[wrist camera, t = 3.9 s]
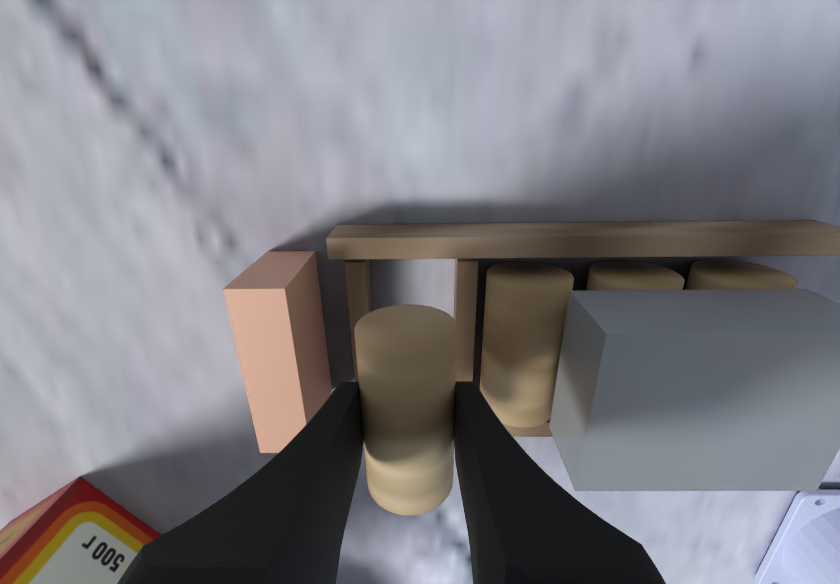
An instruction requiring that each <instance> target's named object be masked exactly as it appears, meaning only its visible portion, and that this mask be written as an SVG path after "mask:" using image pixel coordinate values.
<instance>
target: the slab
mask: <svg viewBox="0 0 840 584" xmlns="http://www.w3.org/2000/svg"><path fill="white" fill-rule="evenodd" d="M549 428H550V431H551V433H552V435H553V438H554V440H555V443H556V445H557V448H558V450H559V453H560V455H561V458H562V460H563V463H564V465H565V467H566V470H567V472H568V475H569V477H570V480H571V482H572V485H573V487H574V490H575V491H817V490H818V488H819V486H820V484H821V482H822V480H823V478H824V477H825V475H826V473H827V471H828V469H829V467H830V465H831V463H832V462H833V460H834V458H835V456H836V454H837V452H838V450H839V448H840V304H837V303H835V302H833V301H831V300H829V299H826V298H824V297H822V296H820V295H817V294H815V293H813V292H811V291H808V290H806V289H745V290H609V291H570V292H569V299H568V305H567V312H566V319H565V325H564V332H563V339H562V345H561V352H560V359H559V365H558V372H557V379H556V385H555V392H554V399H553V405H552V412H551V419H550V425H549Z"/></svg>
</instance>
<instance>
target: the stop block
mask: <svg viewBox="0 0 840 584" xmlns="http://www.w3.org/2000/svg"><path fill="white" fill-rule="evenodd" d="M223 291H224V295H225V300H226V304H227V308H228V313H229V317H230V322H231V326H232V331H233V335H234V340H235V344H236V348H237V353H238V357H239V362H240V366H241V371H242V375H243V379H244V384H245V388H246V393H247V397H248V402H249V406H250V410H251V415H252V419H253V424H254V428H255V433H256V437H257V441H258V446H259V450H260V453H279V452H280V451H281V450H282V449H283V448H284V447H285V446H286V445H287V444H288V443H289V442H290V441H291V440H292V439H293V438H294V437H295V436H296V435H297V434H298V433H299V432H300V431H301V430H302V429H303V428H304V426H305V425H306V424H307V423H308V422H309V421H310V419H311V418H312V417H313V416H314V415H315V414H316V412H317V411H318V410H319V409H320V408H321V406H322V405H323V404H324V403H325V401H326V400H327V399H328V398H329V396H330V394H331V391H332V384H331V376H330V368H329V359H328V351H327V343H326V335H325V326H324V318H323V310H322V301H321V293H320V285H319V277H318V268H317V260H316V252H315V251H267V252H266V253H265V254H264V255H263V256H261V257H260V258H259V259H258V260H257V261H256V262H254V263H253V264H252V265H251V266H250V267H249V268H247V269H246V270H245V271H244V272H243V273H242V274H240V275H239V276H238V277H237V278H236V279H234V280H233V281H232V282H231V283H230V284H229V285H227V286H226V287H225V288H224V289H223Z"/></svg>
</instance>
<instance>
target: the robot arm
mask: <svg viewBox="0 0 840 584" xmlns="http://www.w3.org/2000/svg"><path fill="white" fill-rule="evenodd" d="M363 441H364V436H363V424H362V413H361V401H360V390H359V382H341V383H340V384H339V385H338V386H337V387H336V389H335V390H334V391H333V392H332V394H331V395H330V396H329V398H328V399H327V400H326V401H325V403H324V404H323V405H322V406H321V408H320V409H319V410H318V411H317V412H316V414H315V415H314V416H313V417H312V418H311V419H310V421H309V422H308V423H307V424H306V425H305V426H304V428H303V429H302V430H301V431H300V432H299V433H298V434H297V435H296V436H295V437H294V438H293V439H292V440H291V441H290V442H289V443H288V444H287V445H286V446H285V447H284V448H283V449H282V450H281V451H280V452H279V453H278V454H277V455H276V456H275V457H274V458H273V459H272V460H271V461H269V462H268V463H267V464H266V465H265V466H264V467H263V468H261V469H260V470H259V471H258V472H257V473H255V474H254V475H253V476H252V477H250V478H249V479H248V480H246V481H245V482H244V483H242V484H241V485H240V486H239V487H237V488H236V489H235V490H233V491H232V492H231V493H229V494H228V495H226V496H225V497H223V498H222V499H221V500H219V501H218V502H216V503H215V504H213V505H212V506H210V507H209V508H207V509H206V510H204V511H202V512H201V513H199V514H198V515H196V516H195V517H193V518H191V519H190V520H188V521H186V522H185V523H183V524H181V525H179V526H178V527H176V528H174V529H172V530H171V531H169V532H167V533H165V534H164V535H162V536H160V537H158V538H157V539H155V540H153V541H151V542H149V543H147V544H146V545H144V546H143V547H142V548H141V550H140V551H139V552H138V554H137V555H136V556H135V558H134V559H133V560H132V562H131V563H130V565H129V566H128V568H127V569H126V571H125V572H124V574H123V575H122V577H121V578H120V580H119V581H118V583H117V584H335V583H336V576H337V570H338V563H339V556H340V550H341V544H342V539H343V534H344V530H345V526H346V521H347V517H348V513H349V509H350V505H351V501H352V497H353V493H354V489H355V485H356V481H357V476H358V472H359V468H360V464H361V457H362V450H363ZM454 447H455V461H456V467H457V473H458V479H459V484H460V490H461V496H462V501H463V507H464V512H465V518H466V523H467V529H468V536H469V543H470V552H471V563H472V574H473V584H666V583H665V581H664V579H663V578H662V576H661V574H660V573H659V571H658V569H657V568H656V566H655V564H654V563H653V561H652V560H651V558H650V557H649V555H648V554H647V552H646V551H645V549H644V548H643V546H642V545H641V544H640V543H638V542H637V541H635V540H634V539H632V538H630V537H629V536H627V535H626V534H624V533H623V532H621V531H620V530H618V529H617V528H615V527H613V526H612V525H610V524H609V523H607V522H606V521H604V520H603V519H601V518H600V517H599V516H597V515H596V514H595V513H593V512H592V511H591V510H589V509H588V508H586V507H585V506H584V505H582V504H581V503H580V502H579V501H577V500H576V499H575V498H574V497H573V496H571V495H570V494H569V493H568V492H567V491H565V490H564V489H563V488H562V487H561V486H559V485H558V484H557V483H556V482H555V481H554V480H553V479H552V478H550V477H549V476H548V475H547V474H546V473H545V472H544V471H543V470H542V469H541V468H540V467H539V466H538V465H537V464H536V463H535V462H534V461H533V460H532V459H531V458H530V457H529V455H528V454H527V453H526V452H525V451H524V450H523V449H522V448H521V446H520V445H519V444H518V443H517V442H516V440H515V439H514V438H513V437H512V436H511V434H510V433H509V432H508V431H507V429H506V428H505V427H504V425H503V424H502V422H501V421H500V420H499V418H498V417H497V416H496V414H495V413H494V411H493V410H492V408H491V407H490V405H489V404H488V402H487V401H486V399H485V397H484V396H483V394H482V392H481V390H480V389H479V387H478V385H477V384H476V383H475V382H474V381H456V384H455V417H454ZM754 582H755V583H756V584H840V490H817V491H800V492H799V493H797V495H796V496H795V498H794V500H793V502H792V504H791V506H790V508H789V510H788V512H787V514H786V516H785V518H784V520H783V522H782V524H781V526H780V528H779V530H778V532H777V534H776V536H775V538H774V540H773V542H772V543H771V545H770V547H769V549H768V551H767V553H766V555H765V557H764V559H763V561H762V563H761V565H760V567H759V569H758V571H757V573H756V575H755V577H754Z"/></svg>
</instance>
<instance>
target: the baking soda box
mask: <svg viewBox="0 0 840 584" xmlns="http://www.w3.org/2000/svg"><path fill="white" fill-rule="evenodd" d="M160 536H162V535H160V534H159V533H157V532H156V531H155V530H153V529H152V528H150V527H149V526H148V525H146V524H145V523H144V522H142V521H141V520H139V519H138V518H137V517H135V516H134V515H133V514H131V513H130V512H128V511H127V510H126V509H124V508H123V507H121V506H120V505H119V504H117V503H116V502H115V501H113V500H112V499H110V498H109V497H108V496H106V495H105V494H104V493H102V492H101V491H99V490H98V489H97V488H95V487H94V486H92V485H91V484H90V483H88V482H87V481H86V480H84V479H83V478H81V477H80V476H79V477H78V478H76V479H75V480H73V481H72V482H70V483H69V484H67V485H66V486H64V487H63V488H61V489H59V490H58V491H56V492H55V493H53V494H52V495H50V496H49V497H47V498H46V499H44V500H43V501H41V502H40V503H38V504H36V505H35V506H33V507H32V508H30V509H29V510H27V511H26V512H24V513H23V514H21V515H20V516H18V517H17V518H15V519H13V520H12V521H10V522H9V523H8V524H7V525H6V526H5V527H4V528H3V529H2V530H1V531H0V584H117V583H118V581H119V580H120V578H121V577H122V575H123V574H124V572H125V571H126V569H127V568H128V566H129V565H130V563H131V562H132V560H133V559H134V558H135V556H136V555H137V554H138V552H139V551H140V550H141V548H142V547H143V546H144V545H146V544H147V543H149V542H151V541H153V540H155V539H157V538H158V537H160Z"/></svg>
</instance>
